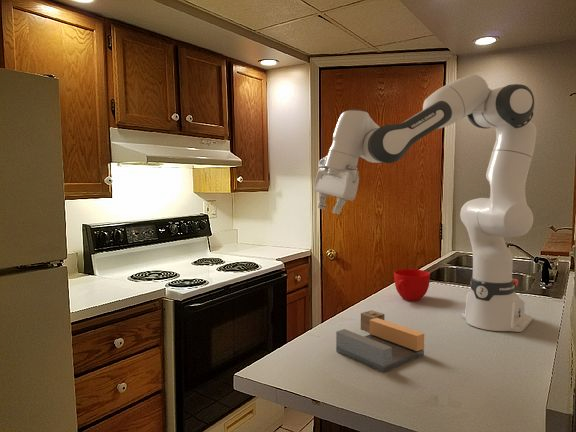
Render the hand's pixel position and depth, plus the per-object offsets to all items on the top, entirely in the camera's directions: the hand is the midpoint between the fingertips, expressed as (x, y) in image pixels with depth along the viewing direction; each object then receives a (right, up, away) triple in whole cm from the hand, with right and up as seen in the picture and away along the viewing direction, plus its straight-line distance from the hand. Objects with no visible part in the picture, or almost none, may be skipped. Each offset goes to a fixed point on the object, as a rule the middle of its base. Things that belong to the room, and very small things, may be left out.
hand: (328, 211), depth 125 cm
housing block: (+14, -36, +6) cm, 39 cm away
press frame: (+13, -38, -11) cm, 41 cm away
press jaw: (+18, -35, -8) cm, 40 cm away
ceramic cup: (+34, -33, +36) cm, 59 cm away
